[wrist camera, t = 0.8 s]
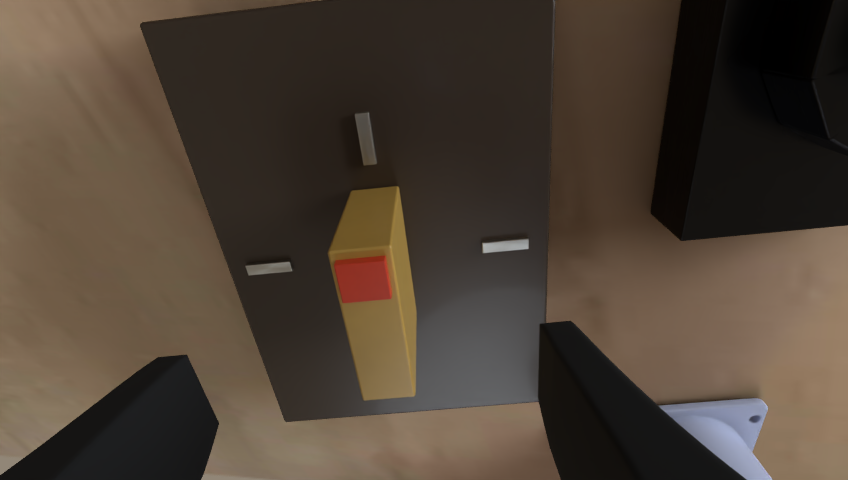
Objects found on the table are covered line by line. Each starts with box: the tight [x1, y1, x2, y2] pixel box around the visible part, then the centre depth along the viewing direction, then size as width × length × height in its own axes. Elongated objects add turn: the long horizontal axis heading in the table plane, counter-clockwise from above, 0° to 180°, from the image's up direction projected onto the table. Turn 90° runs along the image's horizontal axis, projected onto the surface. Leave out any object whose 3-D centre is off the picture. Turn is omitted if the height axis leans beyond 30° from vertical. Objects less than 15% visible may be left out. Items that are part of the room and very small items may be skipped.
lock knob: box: [328, 186, 417, 401], centre depth 12 cm, size 4×1×4 cm, turn 6°
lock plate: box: [140, 0, 555, 422], centre depth 15 cm, size 14×10×3 cm
